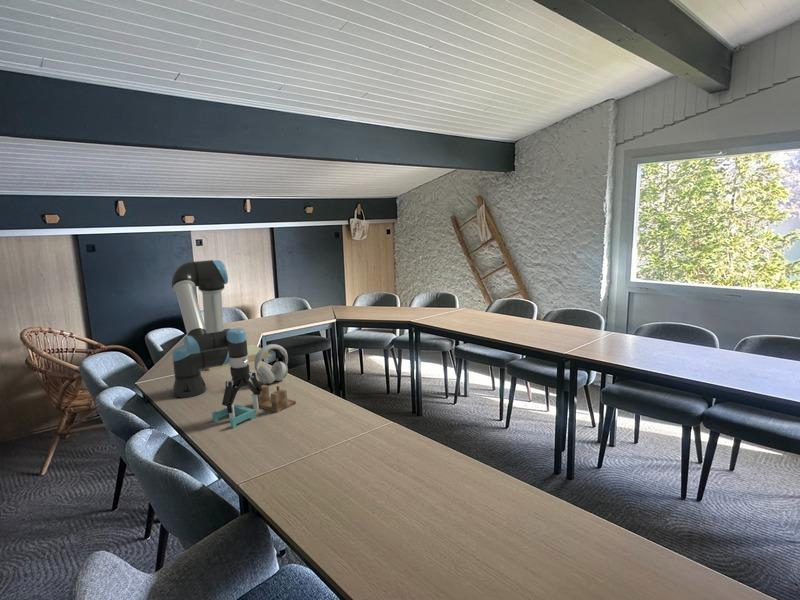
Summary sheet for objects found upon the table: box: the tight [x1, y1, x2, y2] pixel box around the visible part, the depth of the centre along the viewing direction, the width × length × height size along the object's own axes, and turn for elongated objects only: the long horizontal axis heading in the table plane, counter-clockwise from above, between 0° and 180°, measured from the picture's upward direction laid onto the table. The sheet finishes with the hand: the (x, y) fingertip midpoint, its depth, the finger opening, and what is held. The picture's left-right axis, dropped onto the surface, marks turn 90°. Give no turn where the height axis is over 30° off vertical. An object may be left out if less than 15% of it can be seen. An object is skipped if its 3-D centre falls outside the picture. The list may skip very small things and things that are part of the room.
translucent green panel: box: [205, 344, 270, 371], centre depth 282 cm, size 36×5×24 cm
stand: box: [252, 384, 297, 413], centre depth 209 cm, size 11×15×8 cm
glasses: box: [211, 404, 257, 429], centre depth 195 cm, size 11×13×4 cm
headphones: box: [253, 343, 289, 385], centre depth 238 cm, size 18×10×20 cm, turn 137°
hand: (244, 414), depth 199 cm, fingers open, 12 cm apart
